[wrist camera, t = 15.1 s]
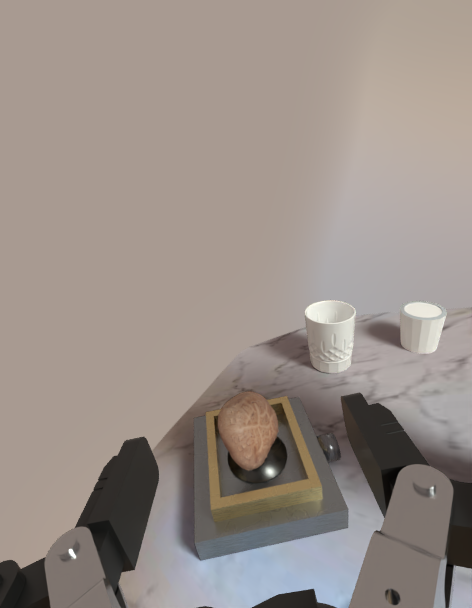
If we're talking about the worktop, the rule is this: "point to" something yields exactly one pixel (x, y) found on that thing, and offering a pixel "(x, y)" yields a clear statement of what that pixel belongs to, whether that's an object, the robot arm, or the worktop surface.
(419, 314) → the shot glass
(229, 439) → the mushroom
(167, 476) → the worktop surface
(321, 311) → the white cup
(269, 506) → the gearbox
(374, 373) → the worktop surface
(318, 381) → the worktop surface
